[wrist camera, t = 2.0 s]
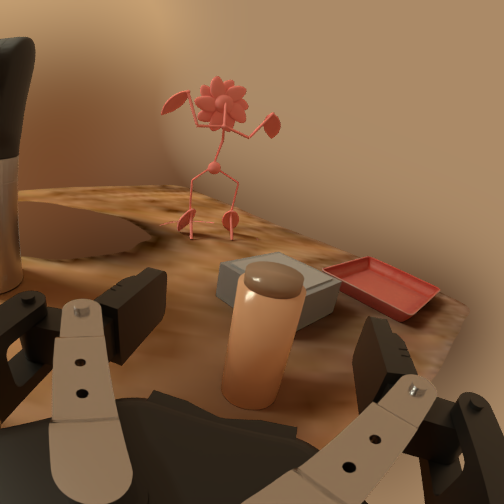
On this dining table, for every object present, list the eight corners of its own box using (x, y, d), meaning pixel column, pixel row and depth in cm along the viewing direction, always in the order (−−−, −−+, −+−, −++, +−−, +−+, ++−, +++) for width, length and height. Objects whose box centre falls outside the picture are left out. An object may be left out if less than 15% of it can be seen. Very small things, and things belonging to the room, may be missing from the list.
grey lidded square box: (215, 295, 44) (220, 260, 42) (272, 280, 52) (278, 250, 50) (280, 339, 36) (289, 300, 34) (332, 312, 45) (342, 279, 43)
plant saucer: (405, 333, 42) (413, 314, 41) (315, 285, 54) (320, 267, 53) (436, 304, 54) (441, 288, 53) (364, 269, 66) (368, 255, 65)
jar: (209, 384, 27) (225, 265, 23) (249, 365, 31) (272, 255, 27) (248, 418, 24) (278, 295, 20) (287, 393, 28) (322, 280, 24)
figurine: (268, 242, 72) (294, 87, 61) (152, 241, 60) (175, 61, 49) (241, 223, 84) (262, 93, 74) (144, 221, 73) (162, 76, 62)
